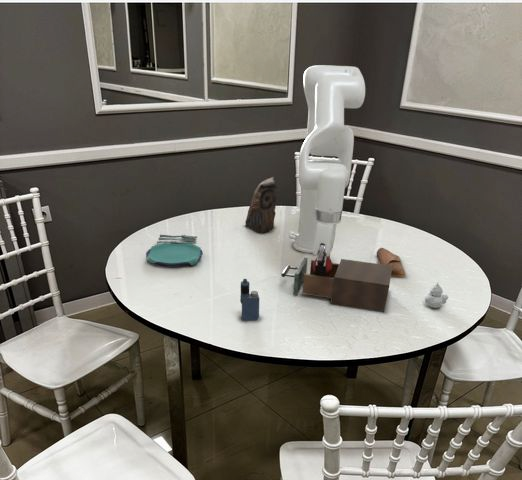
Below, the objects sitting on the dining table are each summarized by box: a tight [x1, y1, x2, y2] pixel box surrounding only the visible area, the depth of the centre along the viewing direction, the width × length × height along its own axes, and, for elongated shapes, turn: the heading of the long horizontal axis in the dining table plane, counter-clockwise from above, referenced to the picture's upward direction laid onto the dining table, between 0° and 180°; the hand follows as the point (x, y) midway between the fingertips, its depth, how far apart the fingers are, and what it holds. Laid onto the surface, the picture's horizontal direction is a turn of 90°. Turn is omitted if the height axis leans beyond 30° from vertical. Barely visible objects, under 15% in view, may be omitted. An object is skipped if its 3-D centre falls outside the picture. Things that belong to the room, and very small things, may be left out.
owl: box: [244, 176, 278, 235], centre depth 191 cm, size 13×13×20 cm
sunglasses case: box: [376, 247, 406, 278], centre depth 166 cm, size 18×7×7 cm
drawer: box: [280, 256, 340, 299], centre depth 146 cm, size 20×14×7 cm
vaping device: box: [239, 278, 260, 322], centre depth 129 cm, size 3×5×12 cm, turn 95°
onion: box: [313, 254, 333, 275], centre depth 144 cm, size 6×6×8 cm
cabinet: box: [330, 258, 392, 313], centre depth 143 cm, size 16×15×9 cm
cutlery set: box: [145, 234, 204, 267], centre depth 171 cm, size 20×30×2 cm, turn 2°
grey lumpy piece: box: [424, 282, 449, 309], centre depth 140 cm, size 5×7×8 cm
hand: (321, 272), depth 145 cm, fingers closed on onion, 6 cm apart
